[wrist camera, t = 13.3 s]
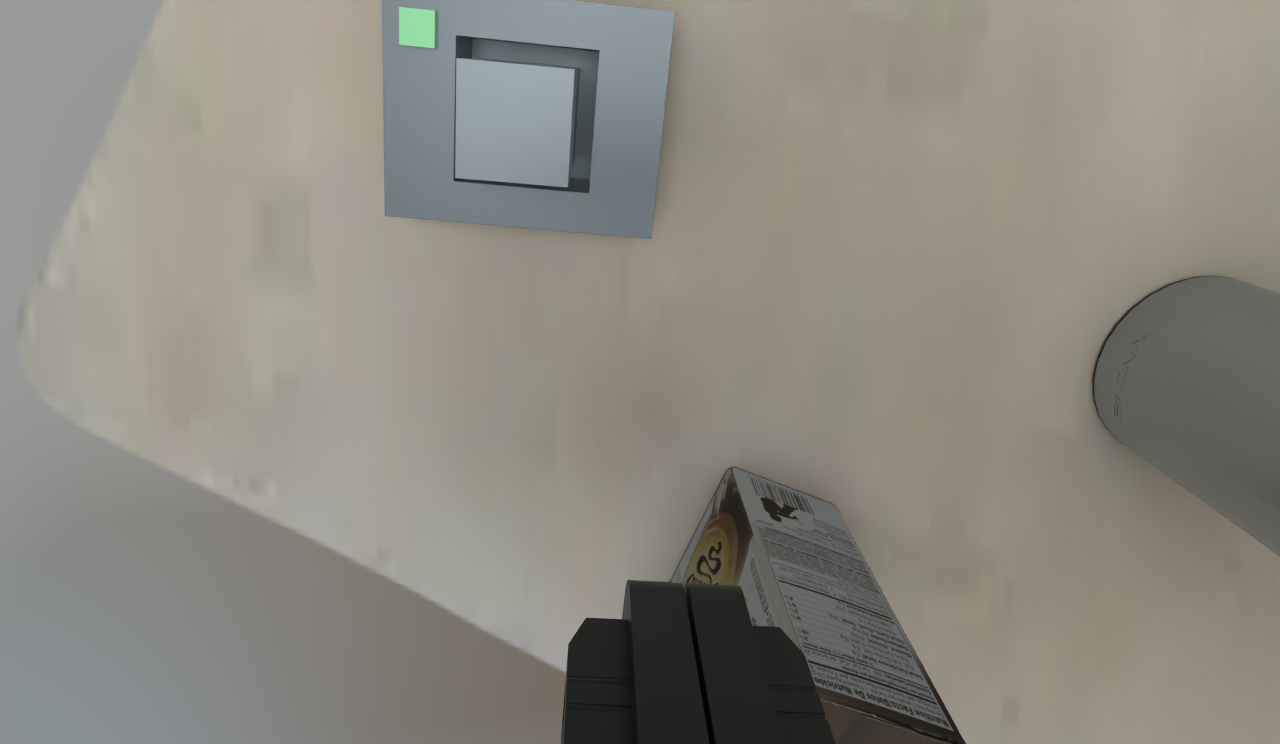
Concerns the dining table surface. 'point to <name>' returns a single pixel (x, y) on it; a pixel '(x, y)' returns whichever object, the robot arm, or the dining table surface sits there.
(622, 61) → the port
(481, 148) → the plug
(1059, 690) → the dining table surface
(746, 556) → the coffee box
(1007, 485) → the dining table surface
